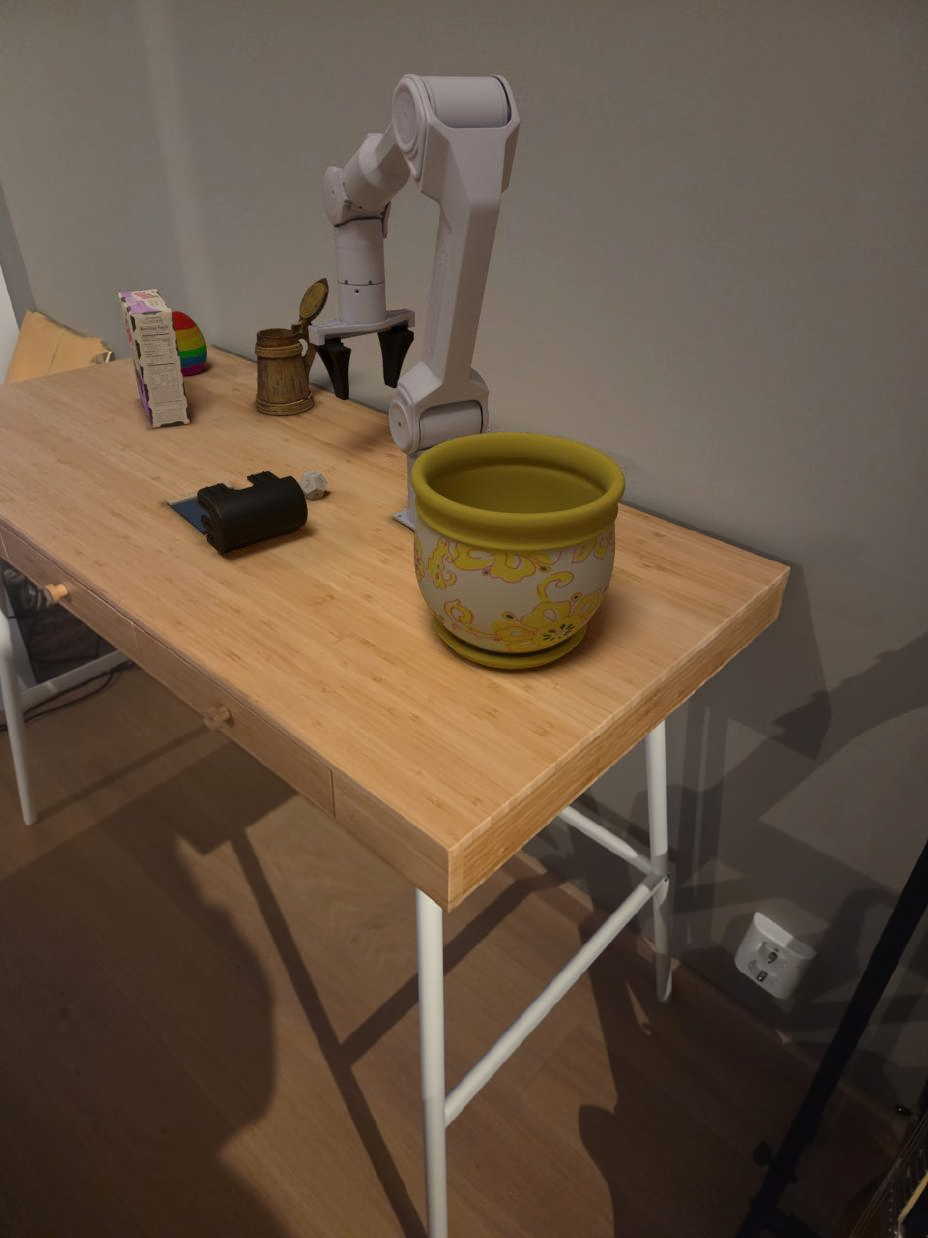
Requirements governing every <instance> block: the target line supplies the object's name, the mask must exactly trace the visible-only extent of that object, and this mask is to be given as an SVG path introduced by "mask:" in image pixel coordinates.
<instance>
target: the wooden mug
mask: <svg viewBox="0 0 928 1238" xmlns="http://www.w3.org/2000/svg"><path fill="white" fill-rule="evenodd" d="M328 282H329V281H328V280H327V277H323V278H321V279H318V280H317V281H315V282H314V283H312V284H311V285H310V286H309V287H308V288H307V290H306V291H305V292H304V294H303V297H302V298H301V300H300V304H299V309H298V310H299V311H298V312H299V313H298V315H299V316H298V318H299V319H298V320H297V322H295V323H291V325H290V329H289V328H283V327H273V328H272V327H271V328H265V329H261V330H259V331H257V332H256V342H255V345H254V355H255V356H256V370H257V371H256V382H257V383H256V385H257V387H256V388H257V390H256V391H257V392H256V394H255V405H254V406H255V409H256V410H257V411H259V412H260V413H263V414H267V415H274V416H288V415H296V414H301V413H304V412H305V411H308V410H310V409H312V408H313V407H314V406H315V399H314V395H313V391H312V390H311V388H310V373H311V371H312V367H313V364H314V362H315V359H316V356H317V351H316V350H315V348H314V347H313V343H310V342H309V331H308V326H311V325H313V323H312V322H313V321H315V320H316V319H317V318H318V317H319V315H320V314H321V313H322V311H323V309H324V307H325V306H326V304H327V300H328V298H329V292H330V287H329V283H328ZM300 340H304V341H305V342H306V345H307V346H306V347H307V349H306V351H305V354H304V355H303V353H302V352H303V351H304V346H303V344H302V343H301V341H300Z"/></svg>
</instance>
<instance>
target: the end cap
mask: <svg viewBox="0 0 928 1238" xmlns="http://www.w3.org/2000/svg"><path fill="white" fill-rule="evenodd" d="M246 480H247V481H248V482H250V483H251V486H248V487H244V488H240V489H235V488H233V489H231V488H229V487H227V486H226V485H225V483H223V482H220V483H219V482H218V483H216V484H214V485H209V486H208V485H207V486H205V487H202V488H200V489H198V490H197V491H198V492H197V491H196V492H197V498H198V500H197V503H198V504H199V506H201V507H202V508H203V509H204V510H205V511H207V512H208V513H209V515H210V519H209V518H208V517H206V516H205V515H201V520H200V521H201V522H202V525H203V527H204V528H205V529H206V530H207V531H209V532H210V533H207V534H205V539H206V541H207V543H208V544H209V545H210V546H212V547H213V548H214V549H215V550H216V551H217V552H219V554H221V555H227V554H231V553H233V552H237V551H239V550H240V551H241V550H243V549H246V548H249V547H252V546H254V545H257V544H262V543H264V542H268V541H270V540H274V539H276V538H277V539H278V538H281V537H283V536H286V535H290V534H292V533H295V532H297V531H299V530H300V529H301V528H302V527H304V526H306V524H307V522H308V518H309V509H308V503H307V498H306V497H305V496H304V493H303V491H302V489H301V487H300V485H299V483H300V482H298V481H297V479H296V478H295V477H293V476H292V475H287V476H283V477H279V476H277V475H276V474H275V473H273V472H271V471H270V470H262V471H261V472H258V473H255V474H254V473H252V474H250V475H246Z"/></svg>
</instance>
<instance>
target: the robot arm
mask: <svg viewBox="0 0 928 1238" xmlns="http://www.w3.org/2000/svg"><path fill="white" fill-rule="evenodd" d="M511 87H512V86H511V85H510V82H508V80H507V79H506V78H505V77H504V76H503V75H501V74H492V75H487V76H457V75H456V76H455V75H454V76H453V75H451V76H446V75H444V76H442V75H441V76H439V75H434V76H433V75H417V74H415V73H406V74H404V75H403V76H402V77H401V78H400V79H399V81H398V83H397V86H396V87H395V88H394V89H393V92H392V103H391V121H390V123H389V124H388V126H387V128H386V129H385V131H384V133H383V134H382V133H380V132H376V133H375V132H373V133H372V132H370V133H367V134H366V136H365V137H364V141H363V143H362V144H361V145H360V147H359V148H358V149H357V150H356V151H355V153H354V155H353V156H351V158H350V159H349V161H348V162H347V163H346V164H345V166H344V167H340V168H339V167H337V166H328V167H327V168H326V171H325V173H324V175H323V180H322V199H323V205H324V210H325V213H326V216H327V218H328V220H329V223H331V224H332V226H333V238H334V239H333V240H334V252H335V253H334V254H335V266H336V267H335V268H336V283H337V296H338V297H337V298H338V311H339V316H337V317H335V318H331V319H329V320H325V321H323V322H319V323H316V324H312V325H311V326H308V331H309V342H310V343H313V347H314V348H315V350H316V351H317V352H316V354H318V356H319V358H320V360H321V362H322V364H323V366H324V367H325V370H326V371H327V374H328V377H329V380H330V383H331V385H332V389H333V392H334V396H335V397H336V398H338V399H339V400H342V401H348V400H349V399H350V382H349V367H350V358H351V354H352V349H351V348H350V347H348V346H345V343H344V342H342V340H346V339H351V338H356V337H362V336H367V335H372V334H376V335H377V337H378V343H379V347H380V353H381V360H382V377H383V383H384V385H385V386H387V387H389V388H391V389H395V394H394V397H393V399H392V400H391V403H390V405H389V409H388V425H389V430H390V434H391V437H392V440H393V442H394V443H395V445H396V447H397V448H398V449H399V450H400V451H401V452H402V453H403V454H405V455H406V467H407V468H406V471H407V472H406V473H407V477H406V479H407V509H406V508H405V509H403V510H401V511H398V512H394V513H393V517H392V518H393V519H394V520H396V521H397V522H399V523H401V524H403V525H404V526H405V527H407V528H408V529H410V530H412V531H415V523H416V516H417V511H416V508H415V497H416V494H415V492H414V490H413V488H412V485H411V478H410V477H411V470H412V467H413V465H414V463H415V461H416V460H417V459H418V458H419V457H420V456H421V455H422V454H423V453H424V452H426V451H427V450H429V449H430V448H432V447H434V446H436V445H438V444H441V443H443V442H446V441H449V440H452V439H456V438H460V437H464V436H470V435H476V434H484V433H487V430H488V428H489V423H490V412H489V396H490V389H489V387H488V385H487V383H486V381H485V379H484V378H483V377H482V375H481V374H480V373H479V372H478V371H477V370H475V369H474V368H473V367H472V362H473V357H474V351H475V346H476V340H477V334H478V329H479V323H480V319H481V313H482V308H483V302H484V297H485V291H486V286H487V279H488V275H489V269H490V265H491V264H490V263H491V259H492V258H491V257H492V254H493V253H492V252H493V249H494V242H495V236H496V231H497V227H498V226H497V225H498V219H499V215H500V209H501V203H502V194H503V193H504V192H505V191H506V190H507V189H508V188H509V186H510V182H511V175H512V171H513V165H514V160H515V155H516V150H517V144H518V139H519V133H520V128H521V122H522V121H521V118H520V113H519V110H518V106H517V102H516V97H515V94H514V92H513V90H512V88H511ZM411 176H412V178H413V180H414V183H415V185H416V187H417V189H418V191H419V193H420V194H421V195H424V196H425V197H427V198H429V199H431V200H432V201H435V202H436V203H437V204H438V207H439V217H438V225H437V232H436V238H435V239H436V240H435V247H434V254H433V262H432V271H431V277H430V285H429V294H428V300H427V301H428V302H427V309H426V317H425V325H424V331H423V333H424V334H423V339H422V346H421V347H422V348H421V353H420V354H421V355H420V361H419V362H418V363H416V364H415V365H414V366H413V367H411V369H409V370H408V371H407V372H406V373H405V374H403V375H402V376H401V372H402V369H403V365H404V362H405V359H406V356H407V354H408V352H409V349H410V347H411V345H412V344H413V342H414V341H415V332H414V331H413V330H411V329H412V328H414V327H416V312H415V310H412V309H408V308H400V309H392V310H391V309H389V310H387V301H386V300H387V298H386V273H385V247H384V246H385V245H384V244H385V243H384V242H385V241H384V240H386V239H387V237H388V234H389V231H388V227H389V226H388V225H389V224H388V223H389V217H390V214H391V208H392V200H393V199H394V198H395V196H396V195H397V194H399V193H400V192H401V191H402V189H404V188H405V186H406V185H407V184H408V182H409V180H410V177H411ZM400 376H401V377H400Z"/></svg>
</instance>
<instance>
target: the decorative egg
mask: <svg viewBox="0 0 928 1238" xmlns="http://www.w3.org/2000/svg"><path fill="white" fill-rule="evenodd" d="M172 315H173V320H174V326H175V332H176V338H177V344H178V351H179V357H180V363H181V369H182V375H183V377H187V376H193V375H197V374H200V373H201V372H202V371H203V369H204V368H205V366H206V363H207V358H208V348H207V343H206V339H205V337H204V333H203V332H202V331H201V328H200V327H199V325H198V324H197V323H196V321H194V320H193V318H192V317H190V315H188V314H186V313H184V312H182V311H180V310H179V311H178V310H172Z"/></svg>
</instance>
